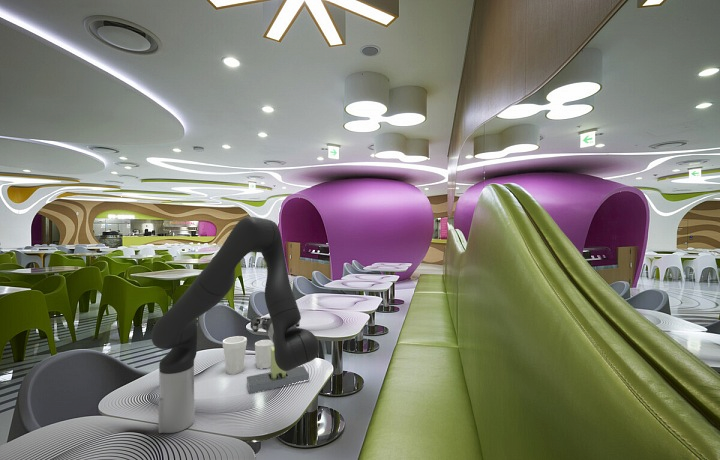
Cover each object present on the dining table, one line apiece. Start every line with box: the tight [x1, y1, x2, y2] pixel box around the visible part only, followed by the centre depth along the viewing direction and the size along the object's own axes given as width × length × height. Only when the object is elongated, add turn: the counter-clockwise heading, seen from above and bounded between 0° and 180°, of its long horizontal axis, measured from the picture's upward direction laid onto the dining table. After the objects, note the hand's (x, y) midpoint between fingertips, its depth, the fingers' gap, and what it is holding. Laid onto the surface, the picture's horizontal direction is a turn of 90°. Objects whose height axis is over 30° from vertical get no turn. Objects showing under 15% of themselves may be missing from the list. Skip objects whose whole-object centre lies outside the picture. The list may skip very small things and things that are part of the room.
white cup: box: [254, 339, 274, 369], centre depth 144 cm, size 8×8×10 cm
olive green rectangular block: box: [270, 347, 286, 379], centre depth 127 cm, size 5×4×13 cm
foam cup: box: [222, 335, 248, 375], centre depth 138 cm, size 10×9×13 cm
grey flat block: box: [246, 365, 310, 395], centre depth 127 cm, size 22×8×3 cm, turn 115°
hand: (271, 316), depth 109 cm, fingers open, 8 cm apart
